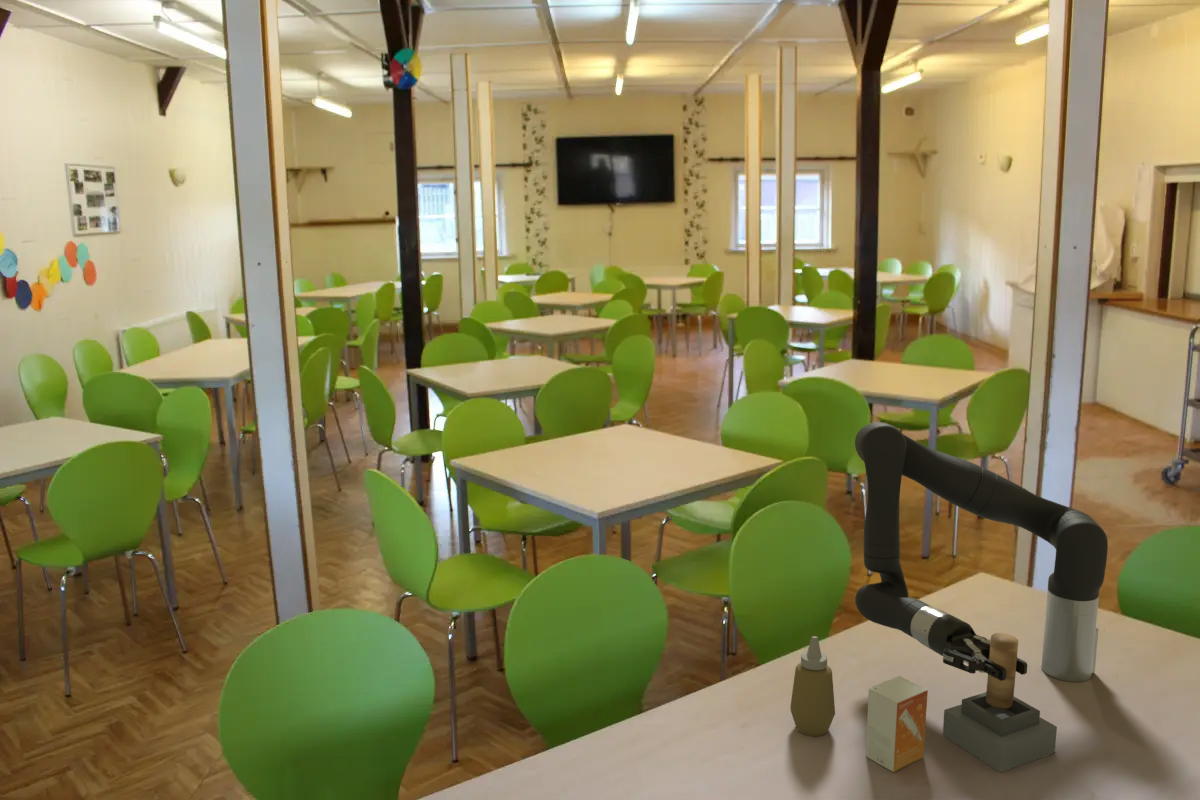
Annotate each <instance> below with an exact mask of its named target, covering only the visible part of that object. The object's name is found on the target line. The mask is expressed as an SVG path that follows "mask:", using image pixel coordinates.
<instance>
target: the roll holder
mask: <svg viewBox="0 0 1200 800" xmlns="http://www.w3.org/2000/svg"><path fill="white" fill-rule="evenodd" d="M986 692H987V691H985V692H983V693H982V692H981V693H979V694H975V695H972V696H969V697H966V698H962V699H961V704H958V705H955V706H953V707H948V708H946V709H944V711H943V712H944V713H943V723H942V724H943V725H942V726H943V727H942V729H943V730H942V736H943V737H945V738H947V740H950V741H951V742H953V743H954V744H956V745H957V746H959V747H960V748H961V749H963V750H965V751H966V752H968V753H969V754H971V755H973V756H974V757H976V758H977V759H978V760H980V761H982V762H984V763H985V764H986V765H988V766H989V767H991V768H992V769H994V770H996V771H997V772H998V773H1003V772H1005V771H1008V770H1012V769H1014V768H1017V767H1020V766H1023V765H1025V764H1027V763H1030V762H1033V761H1036V760H1039V759H1042V758H1044V757H1048V756H1050V755H1053V754H1055V753H1056V743H1057V732H1058V727H1057V726H1056V725H1054V723H1051V722H1049V721H1047V720H1046V719H1044V718H1042V717H1041V710H1039V709H1037V708H1036V707H1034V706H1032V705H1031V704H1029V703H1027V702H1025V701H1023V700H1022V699H1020V698H1018V697H1016V696H1014V697H1013V706H1012V707H1010V708H1007V709H1002V708H996V707H993V706H991V705H989V704H988V703H987V702H986Z"/></svg>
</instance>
